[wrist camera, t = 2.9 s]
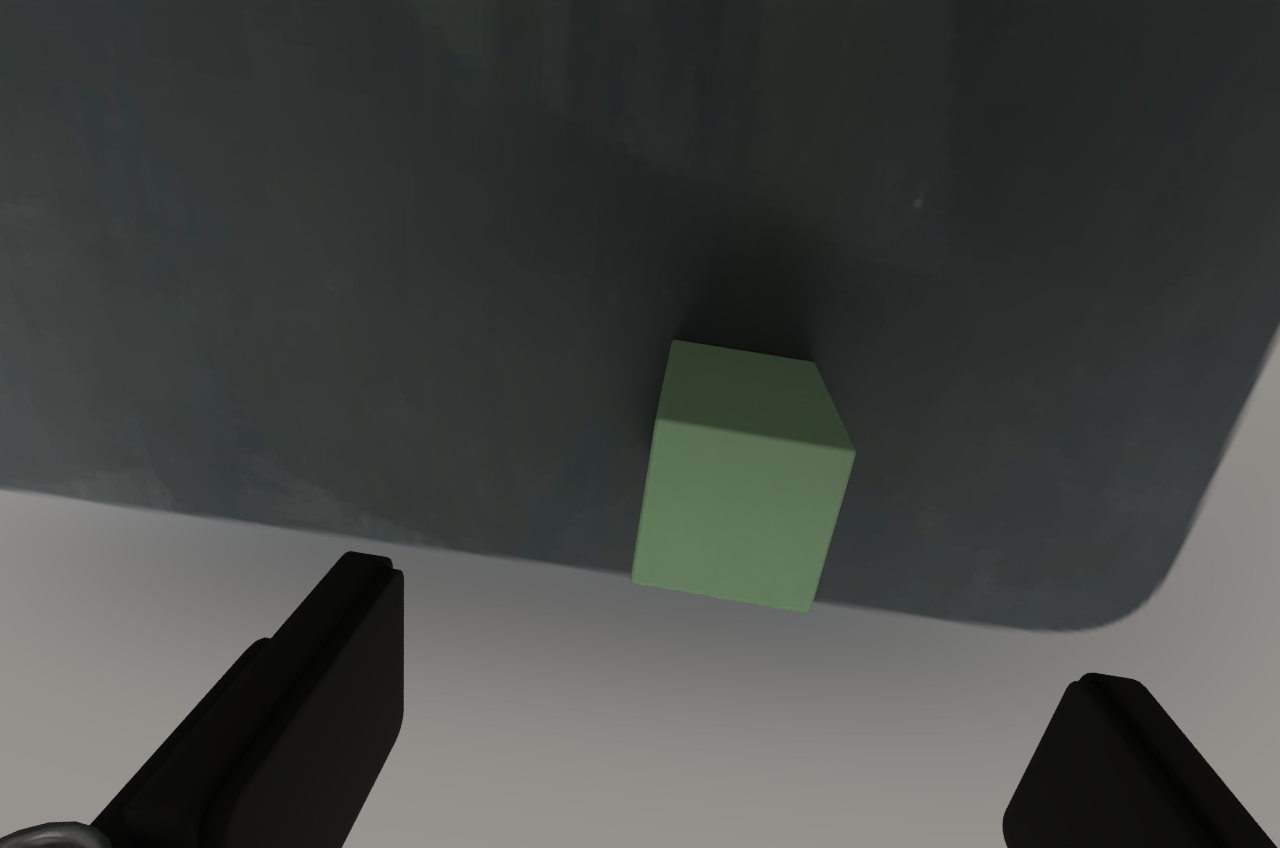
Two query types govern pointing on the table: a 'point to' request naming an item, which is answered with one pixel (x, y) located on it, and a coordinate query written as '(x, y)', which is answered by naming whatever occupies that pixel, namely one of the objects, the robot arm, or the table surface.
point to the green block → (741, 478)
